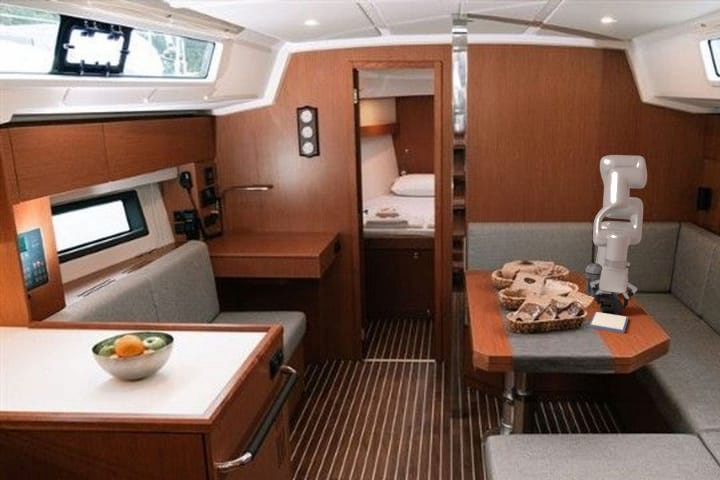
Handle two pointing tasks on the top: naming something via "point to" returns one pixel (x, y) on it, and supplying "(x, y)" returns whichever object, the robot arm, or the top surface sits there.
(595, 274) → the beverage cup
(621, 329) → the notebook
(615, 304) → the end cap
